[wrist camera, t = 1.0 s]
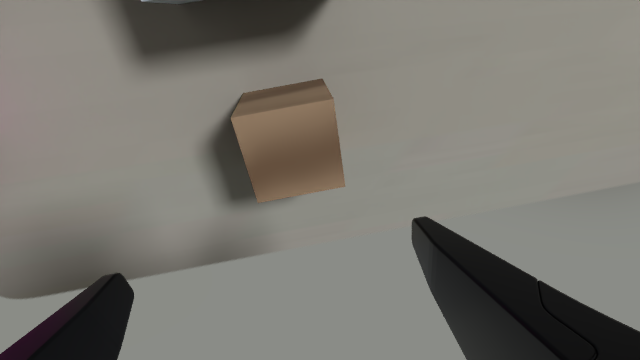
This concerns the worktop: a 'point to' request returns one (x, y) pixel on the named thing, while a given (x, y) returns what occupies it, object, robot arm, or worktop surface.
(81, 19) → the worktop surface
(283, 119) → the walnut cube
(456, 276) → the robot arm
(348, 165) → the worktop surface
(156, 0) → the slate base block
